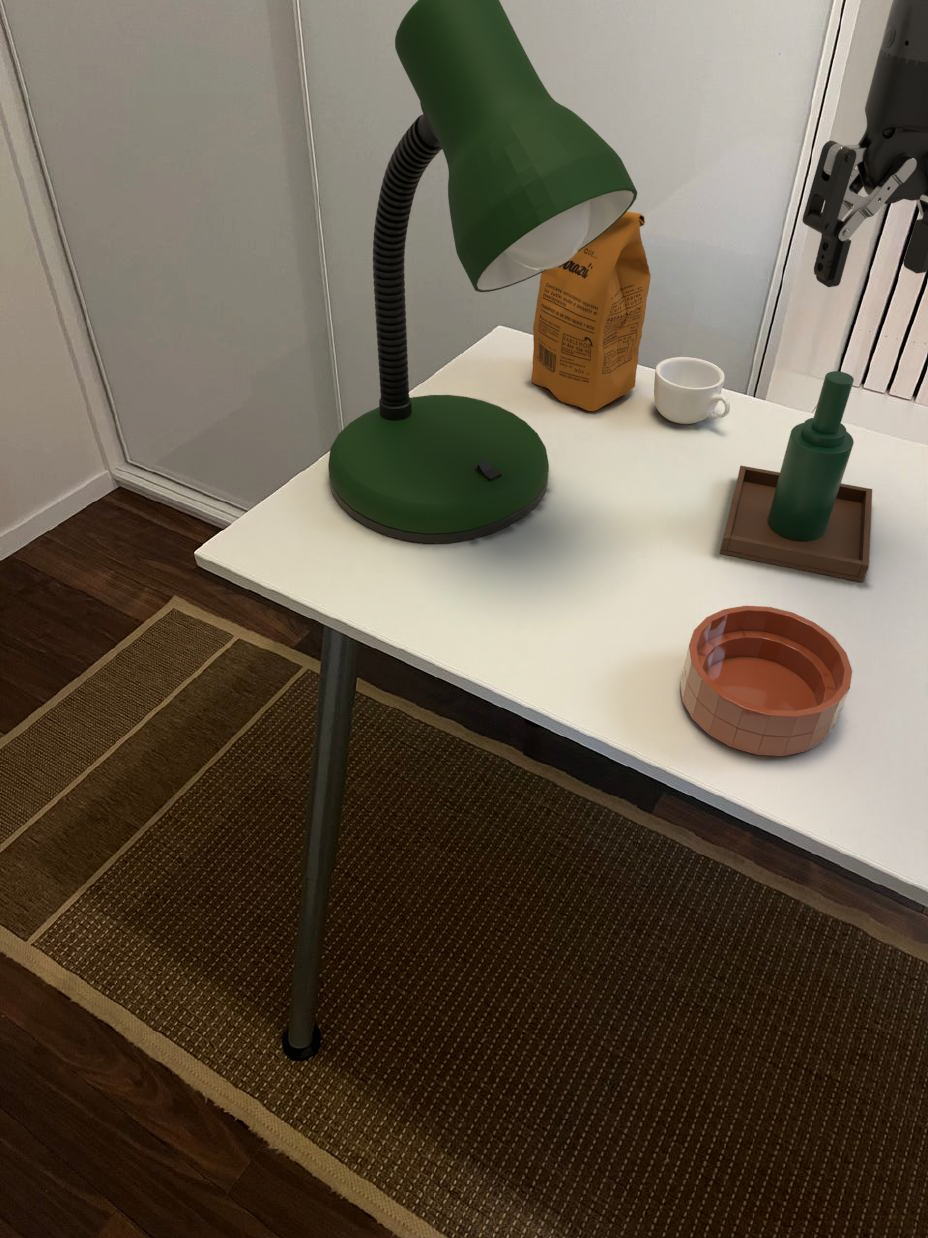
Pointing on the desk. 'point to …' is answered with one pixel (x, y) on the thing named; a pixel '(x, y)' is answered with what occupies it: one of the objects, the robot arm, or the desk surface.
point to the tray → (828, 555)
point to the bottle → (813, 466)
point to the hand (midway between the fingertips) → (871, 276)
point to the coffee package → (593, 318)
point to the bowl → (765, 680)
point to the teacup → (688, 390)
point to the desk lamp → (470, 270)
